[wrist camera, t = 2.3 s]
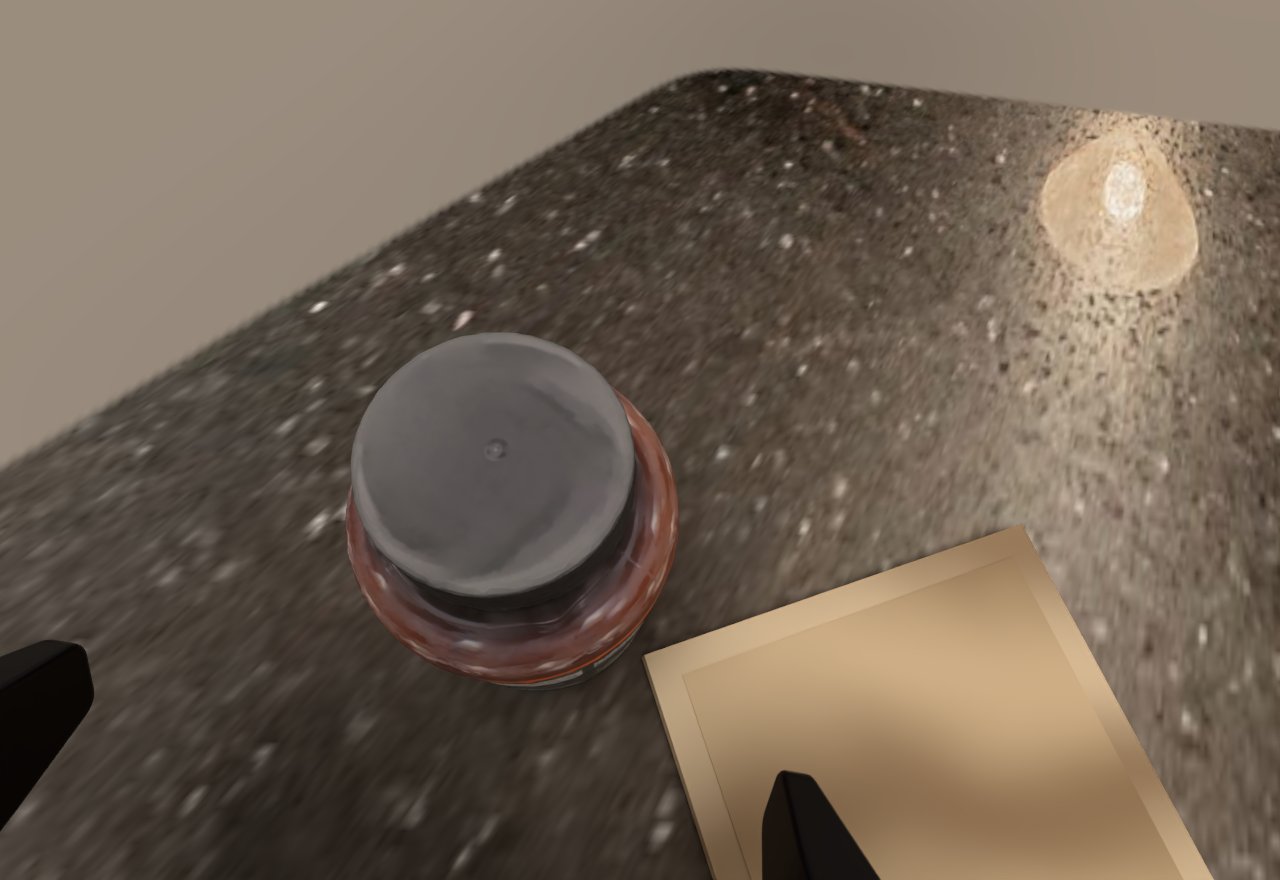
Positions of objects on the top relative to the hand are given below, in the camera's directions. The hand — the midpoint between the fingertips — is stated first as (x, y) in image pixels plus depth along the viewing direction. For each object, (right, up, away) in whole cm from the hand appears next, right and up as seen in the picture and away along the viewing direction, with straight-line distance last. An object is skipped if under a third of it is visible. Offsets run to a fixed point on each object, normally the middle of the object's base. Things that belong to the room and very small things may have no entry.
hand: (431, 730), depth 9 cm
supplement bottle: (0, -1, +11) cm, 11 cm away
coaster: (+10, -6, +10) cm, 15 cm away
